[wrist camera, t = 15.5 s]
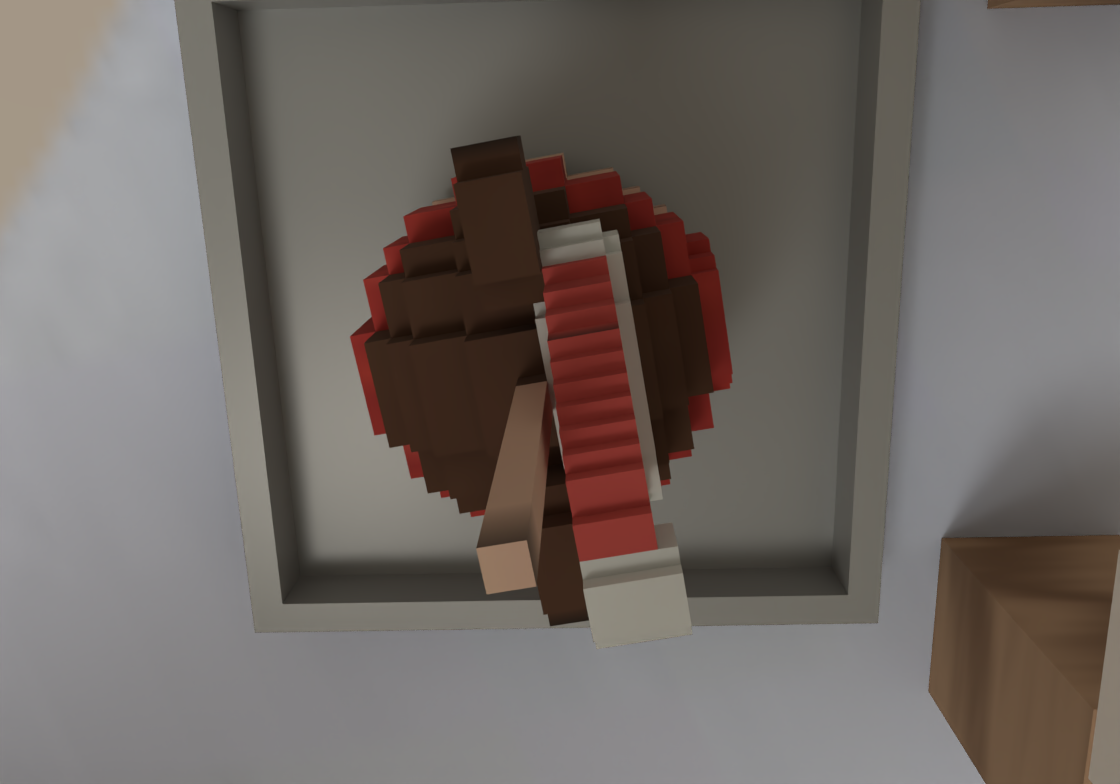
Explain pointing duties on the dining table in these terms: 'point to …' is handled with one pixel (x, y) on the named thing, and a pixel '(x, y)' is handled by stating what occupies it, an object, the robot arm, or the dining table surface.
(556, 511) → the cake
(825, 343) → the tray
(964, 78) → the dining table surface
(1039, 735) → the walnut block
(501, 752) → the dining table surface
